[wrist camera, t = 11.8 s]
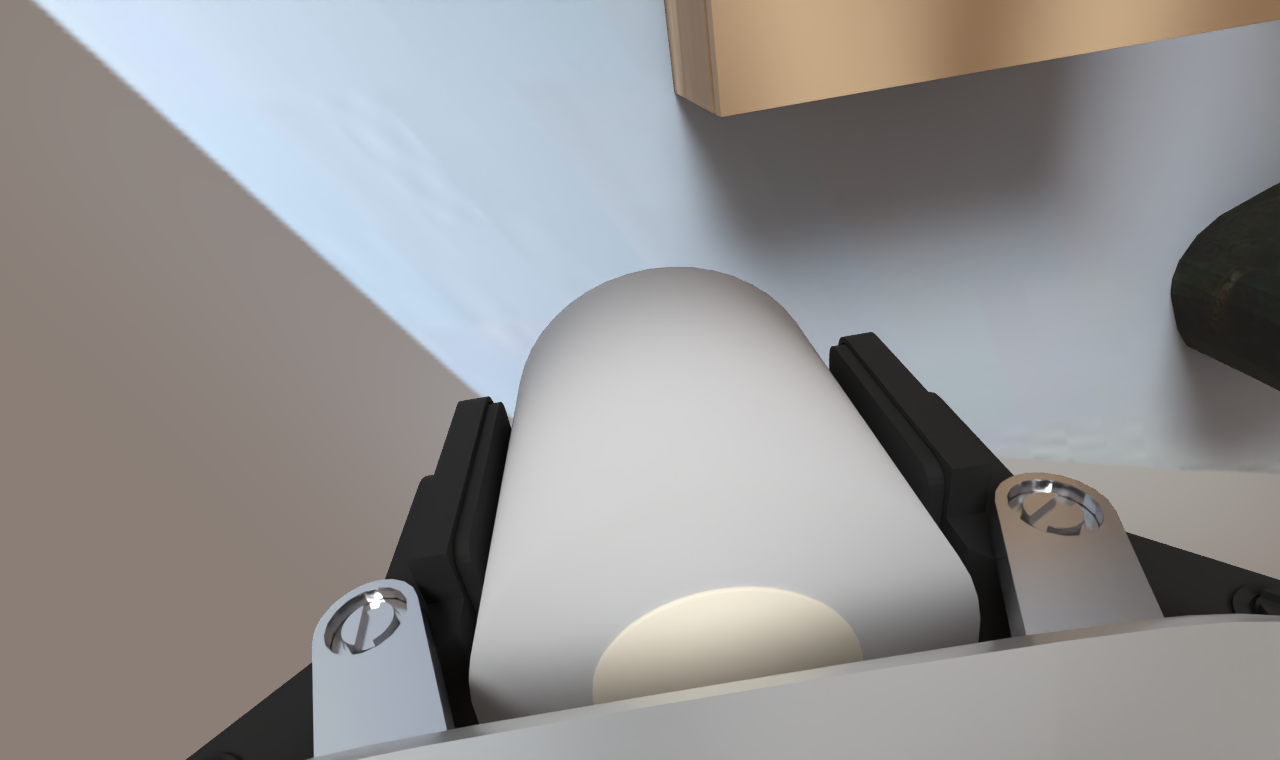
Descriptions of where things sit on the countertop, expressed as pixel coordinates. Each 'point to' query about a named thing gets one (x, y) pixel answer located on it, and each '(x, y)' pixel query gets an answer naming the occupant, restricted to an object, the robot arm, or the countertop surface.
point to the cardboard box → (690, 51)
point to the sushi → (1235, 289)
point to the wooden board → (927, 40)
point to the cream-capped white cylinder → (696, 510)
